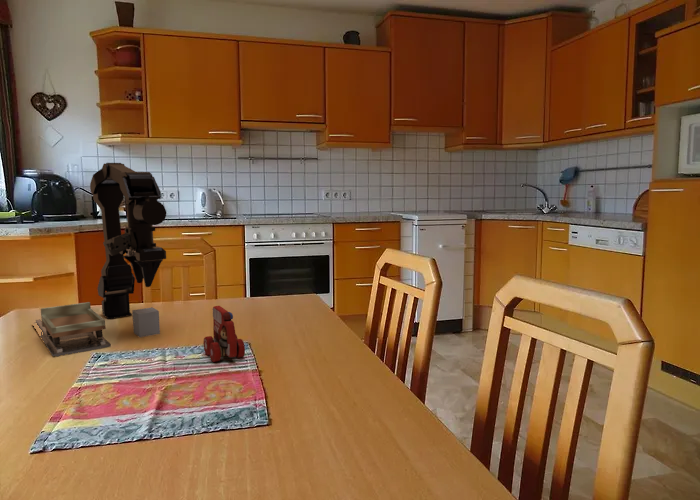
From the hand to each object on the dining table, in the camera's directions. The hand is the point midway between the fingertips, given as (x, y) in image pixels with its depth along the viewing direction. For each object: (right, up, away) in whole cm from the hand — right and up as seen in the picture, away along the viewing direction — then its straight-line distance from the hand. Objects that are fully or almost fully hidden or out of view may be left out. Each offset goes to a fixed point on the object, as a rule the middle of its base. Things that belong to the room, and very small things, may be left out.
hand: (143, 284), depth 133 cm
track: (-19, -13, +1) cm, 23 cm away
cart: (-15, -12, -5) cm, 20 cm away
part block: (0, -13, +2) cm, 13 cm away
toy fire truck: (+24, -15, -16) cm, 33 cm away
